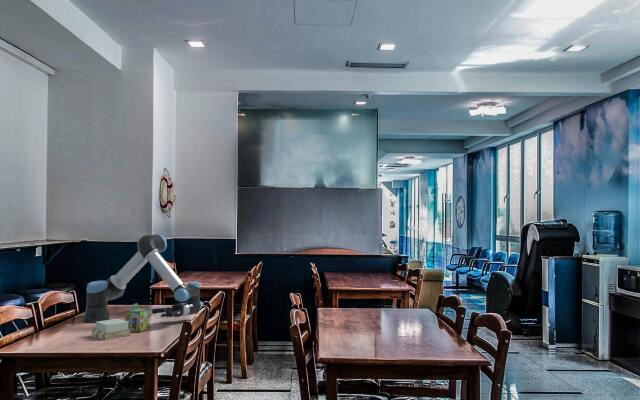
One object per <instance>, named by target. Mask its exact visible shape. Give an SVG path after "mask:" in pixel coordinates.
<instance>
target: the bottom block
mask: <svg viewBox="0 0 640 400" xmlns="http://www.w3.org/2000/svg"><path fill="white" fill-rule="evenodd" d="M131 333H132V332H131V329H127V330H121V331H115V332H108V333H105V332H102V331H99V330H96V328H93V329H91V337H93V338H95V339H101V340H103V341H108V340H113V339H114V340H115V339H118V338H119V339H120V338H126V337H130V336H131Z"/></svg>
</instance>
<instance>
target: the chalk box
mask: <svg viewBox="0 0 640 400" xmlns="http://www.w3.org/2000/svg"><path fill="white" fill-rule="evenodd" d="M132 306H133V308H131V309H127V310H125V313H124V316H125V318H124V321H128V329H131V332H130V333H141V332H144V331H147V330H148V326H149V325H148V324H149V323H148V319H149V317H148V316H149V315H148V310H149V309H147V308H139V304H138V302H136V303H133V304H132Z"/></svg>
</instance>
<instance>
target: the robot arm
mask: <svg viewBox="0 0 640 400" xmlns="http://www.w3.org/2000/svg"><path fill="white" fill-rule="evenodd" d="M136 247H137V252H136V253H135V254H134V255H133V256H132V257H131V258H130V260H128V261H127V262H126V264H125V265H124V266H123V267H122V268H121V269H120V270H119V271H118V272H117V273H116V274H114V275H111V276H110V277H109V278H108V279H107V280H95V281H90V282H88V283H87V285H86V305H85V307H86V309H85V312H84V314H83V317H82V322H84V323H88V324H89V323H91V324H92V323H95V324H96V322H98V321H105V320H111V318H110V317H111V315H110V313H109V309H108V302H109V301H112V300H116V299H118V298H120V297H122V296H123V294H124V293H125V289H127V288H126V287H127V284H128V283H129V282H130V280H132V279H133V277H134V276H136V274H137V273H139V271H140V270H141V269H142V268H143V267H144V266H145V265H146V264H147V263H148V262H149V263H150V265H151V266H152V267H153V268H154V270H155V271H156V272H157V273H158V275H159V276H160V278H161V279H162V280H163V281H164V282H165V283H166V284H167V286H168V287H169V288H170V289H171V291H172V292H173V296H174V299H175V301H177V302H179V303H175V304H173V305H171V307H158V308H150V309H148V316H149V315H150V316H152V315H155V316H154V317H155V319H161V318H173V317H174V318H179V317H186V316H190V315H197V314H199V313H198V312H199V311H200V309H201V308H202V306H203V305H204V302H203V301H201V300H200V298H201V297H200V296H201V292H200V291H201V286H200V285H201V284H200V282H198V281H189V282H187V285H186V284H185V283H184V282H183V281H182V280H181V279H180V277H179V276H178V274H176V272H175V271H174V269H173V268H172V267H171V265H169V263H168V262H167V261H166V260H165V259H164V257H163V256H162V255H161V254H162V253H163V252H165V251H166V250H167V247H168V243H167V239H166V238H165V236H163V235H161V234H158V233H156V234H146V235H145V234H144V235H143V236H141V237H140V238H139V239H138V241H137V246H136Z"/></svg>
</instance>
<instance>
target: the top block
mask: <svg viewBox="0 0 640 400" xmlns="http://www.w3.org/2000/svg"><path fill="white" fill-rule="evenodd" d="M95 329H96V330H99V331H102V332H105V333H108V332H115V331H121V330H127V329H128V321H125V319H119V318H113V319H110V320H105V321H98V322H96V323H95Z"/></svg>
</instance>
